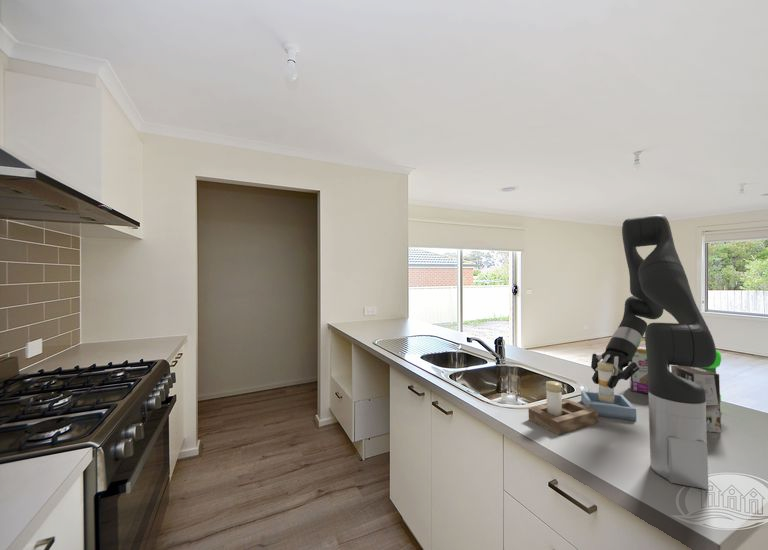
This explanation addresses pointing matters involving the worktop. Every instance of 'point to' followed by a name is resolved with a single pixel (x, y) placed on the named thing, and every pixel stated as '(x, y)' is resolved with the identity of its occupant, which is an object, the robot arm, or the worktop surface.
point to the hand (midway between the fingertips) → (602, 384)
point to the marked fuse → (605, 382)
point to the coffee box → (711, 390)
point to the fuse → (554, 398)
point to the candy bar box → (640, 372)
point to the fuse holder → (564, 417)
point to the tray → (609, 406)
